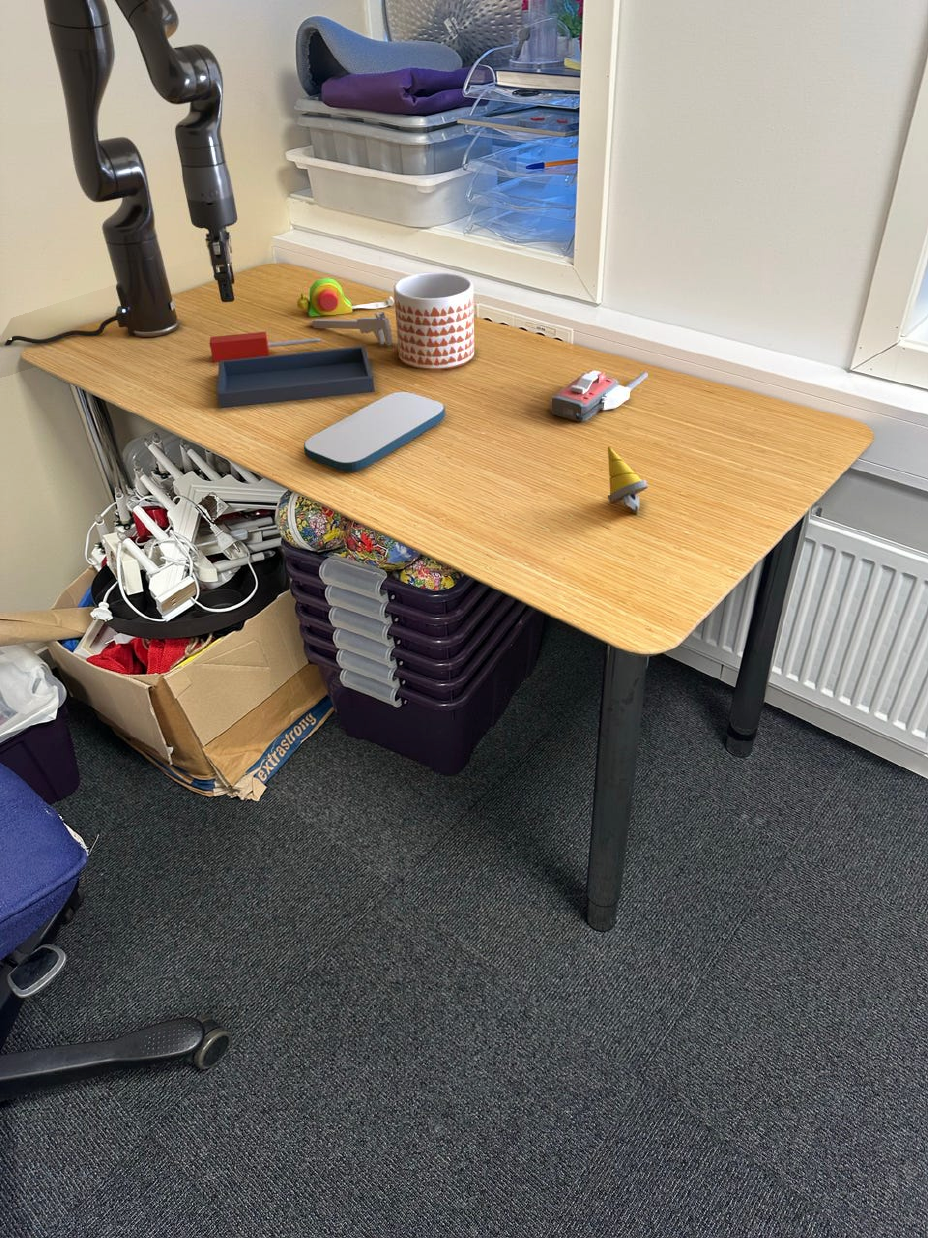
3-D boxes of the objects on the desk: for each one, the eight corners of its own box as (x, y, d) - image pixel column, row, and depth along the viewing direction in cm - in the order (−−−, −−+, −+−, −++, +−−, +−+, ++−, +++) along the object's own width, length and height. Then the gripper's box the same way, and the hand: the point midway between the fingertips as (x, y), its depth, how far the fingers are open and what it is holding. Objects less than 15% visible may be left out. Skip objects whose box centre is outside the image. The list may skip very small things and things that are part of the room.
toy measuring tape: (297, 310, 177) (292, 277, 173) (391, 299, 180) (388, 266, 176) (300, 321, 172) (295, 287, 168) (396, 310, 175) (394, 277, 171)
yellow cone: (612, 524, 115) (583, 455, 116) (627, 521, 120) (599, 454, 120) (648, 507, 112) (617, 436, 113) (661, 504, 117) (632, 437, 117)
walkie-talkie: (592, 430, 134) (651, 383, 146) (594, 404, 131) (653, 358, 144) (543, 416, 138) (604, 371, 150) (544, 390, 135) (606, 346, 148)
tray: (220, 410, 143) (216, 394, 141) (222, 376, 153) (219, 360, 151) (375, 393, 146) (373, 377, 144) (366, 361, 157) (365, 345, 155)
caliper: (392, 346, 162) (390, 312, 158) (389, 348, 161) (386, 314, 157) (312, 324, 171) (307, 292, 167) (308, 326, 170) (303, 294, 166)
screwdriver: (214, 364, 157) (209, 343, 155) (214, 357, 160) (209, 336, 157) (323, 353, 160) (320, 332, 157) (322, 347, 162) (319, 326, 160)
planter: (458, 375, 151) (456, 302, 143) (386, 366, 155) (380, 294, 146) (484, 345, 160) (483, 275, 152) (416, 337, 164) (412, 268, 156)
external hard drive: (351, 479, 125) (350, 467, 123) (296, 456, 130) (294, 444, 129) (453, 417, 139) (453, 405, 137) (399, 398, 144) (398, 387, 143)
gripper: (187, 182, 146) (207, 280, 157) (183, 206, 135) (205, 309, 146) (233, 179, 147) (249, 276, 158) (232, 202, 136) (250, 305, 147)
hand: (228, 292), depth 152 cm, fingers open, 8 cm apart
